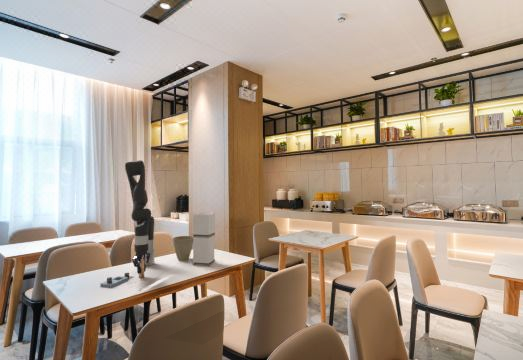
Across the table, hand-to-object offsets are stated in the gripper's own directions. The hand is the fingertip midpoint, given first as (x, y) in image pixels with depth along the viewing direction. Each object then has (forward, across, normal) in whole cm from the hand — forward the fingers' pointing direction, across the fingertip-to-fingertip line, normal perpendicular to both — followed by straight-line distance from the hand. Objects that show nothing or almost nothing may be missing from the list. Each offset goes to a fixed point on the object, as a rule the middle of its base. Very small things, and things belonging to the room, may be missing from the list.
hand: (141, 272), depth 168 cm
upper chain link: (+4, +12, -8) cm, 15 cm away
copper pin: (+4, 0, 0) cm, 4 cm away
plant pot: (+5, -46, 0) cm, 46 cm away
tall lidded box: (+5, -40, +20) cm, 45 cm away
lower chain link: (+4, +6, -8) cm, 11 cm away
